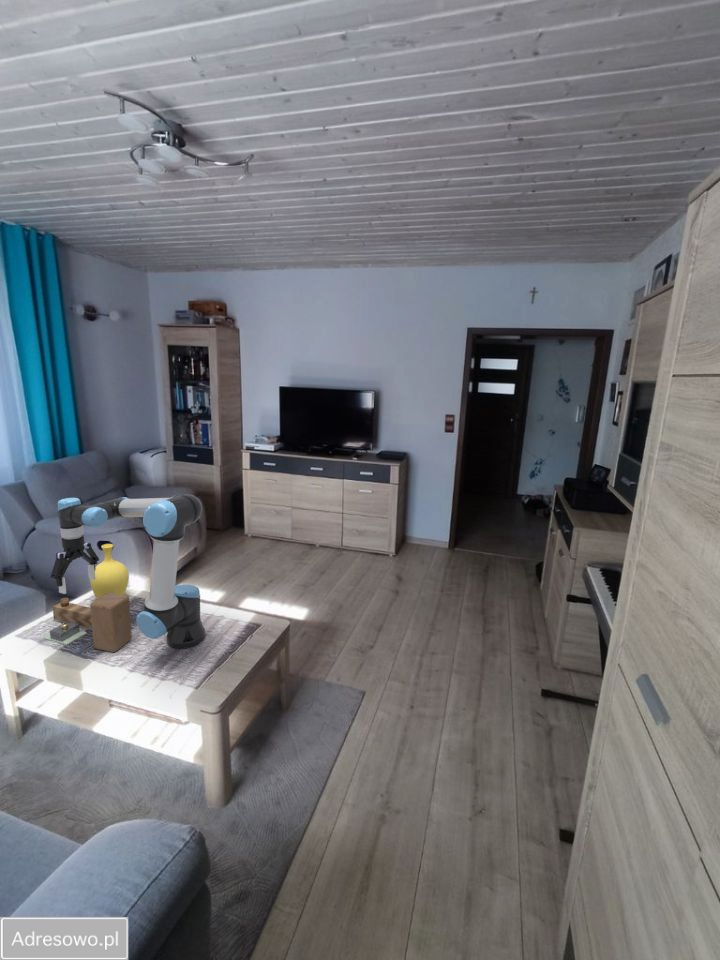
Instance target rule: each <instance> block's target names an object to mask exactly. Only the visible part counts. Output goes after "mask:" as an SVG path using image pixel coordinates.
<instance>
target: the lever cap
mask: <svg viewBox="0 0 720 960" xmlns="http://www.w3.org/2000/svg"><path fill="white" fill-rule="evenodd" d="M80 631H81V628H79V624H77V623H73V622H69V621H67V622H66V623H64V624H63V623H61V624H60V625H58V626H57V627H55V628H53V629H50V630H49V635H50V637H51V639H54V640H57V641H61V642H62V641H64V640H66V639H68V638H69V637H71V636H73V635H75V634H76V633H78V632H80Z"/></svg>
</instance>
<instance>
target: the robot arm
mask: <svg viewBox="0 0 720 960" xmlns="http://www.w3.org/2000/svg"><path fill="white" fill-rule="evenodd" d="M81 504H82V503H81V499H79V498H77V497H66V498H62V499H60V500H58V502H57V513H58V520H59V527H60V529H59V531H60V537H61V546H62V548H63V552H57V553H56V554H55V562H54V565H53V567H52V571H51V574H50V579H54V580H56V581H55V582H56V586H57V587H58V593H60V594H62V595H63V594H64V595H65V594H67V585H66V578H65V577H64V575H65V574H66V571H67V569H69V566H70V565H71V563H73V561H74V560H76V559H80V558H82V559H83V560H84V561H86V562H87V563H88V564H87V574H88V580H90V579H92V580H95V570H96V568H95V567H96V565H98V562H99V561H100V558H99V556H98V555H97V553H96V552H95V551H94V549H93V548H92V544H91V543H90V542H85V536H84V526H86V527H91V528H94V527H95V528H98V527H99V528H100V527H102V526H103V525H104V524H105V523H106V522H108V521H111V520H114V519H117V518H142V523H143V527H145V531H146V532H147V534H148V535H149V537H150V538H151V539H152V540H153V546H152V547H153V548H152V558H151V559H152V560H151V573H150V586H149V596H148V597H146V598H145V601H144V604H143V605H144V608H143V610H142V611H140V612H139V613H138V614H137V615H136V620H135V623H136V626H137V628H138V630H139V631H140V632H141V634H143V636H145V637H147V638H149V639H153V640H156V639H158V638H161V637H162V636H166V637H165V638H166V644H167V646H169V647H171V648H174V649H188V648H189V649H190V648H191V647H195V646H197V645H198V644H200V643H202V642H203V641H204V640H205V639H206V629H205V627H204V625H203V621H202V619H201V593H200V592H201V591H200V588H199V587H198V586H196V585H194V584H193V585H192V584H177V585H176V580H177V571H178V570H177V569H178V563H179V562H178V561H179V560H178V559H179V548H180V541H181V540H183V539H184V538H185V534H186V533H185V532H186V527H187V526H190V525H192V524H194V523H195V522H197V521H198V520H199V519H200V517H201V516H202V513H203V506H202V502H201V501H200V499H199V498H198V497H197V496H196V495H193V494H190V493H185V494H184V493H183V494H176V495H173V496H171V497H154V498H153V497H152V498H149V497H148V498H145V497H144V498H129V497H125V496H124V497H123V496H122V497H117V498H115V499H111V500H107V501H104V502H99V503H96V504H92V505H81ZM84 550H85V551H86V552H87V553H86V552H85V551H84Z"/></svg>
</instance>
